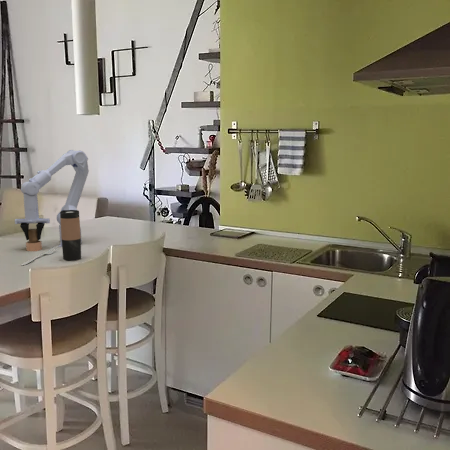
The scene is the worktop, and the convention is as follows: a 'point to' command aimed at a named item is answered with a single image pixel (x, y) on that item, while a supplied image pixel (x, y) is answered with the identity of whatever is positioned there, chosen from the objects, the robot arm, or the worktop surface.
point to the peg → (33, 236)
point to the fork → (39, 255)
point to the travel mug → (70, 235)
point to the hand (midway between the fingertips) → (33, 239)
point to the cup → (33, 246)
